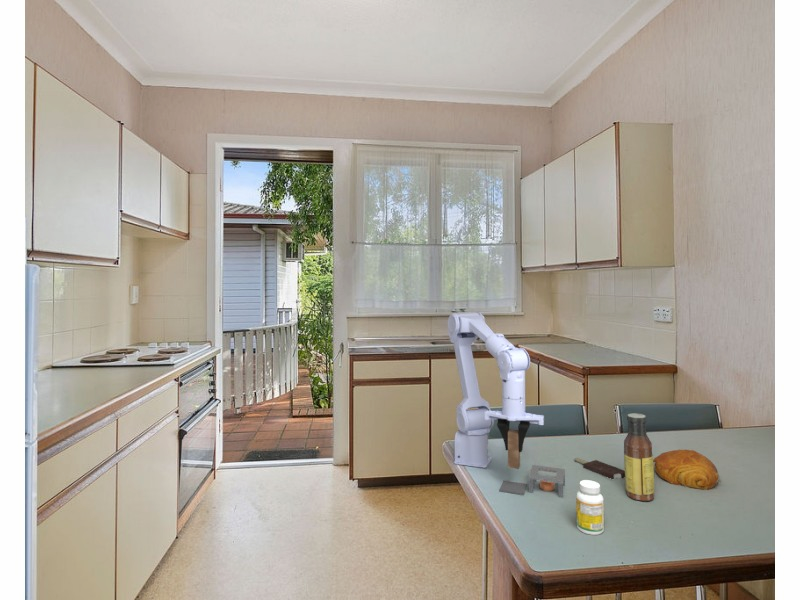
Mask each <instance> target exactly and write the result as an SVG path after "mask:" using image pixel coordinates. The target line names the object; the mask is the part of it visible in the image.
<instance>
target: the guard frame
mask: <svg viewBox="0 0 800 600" xmlns="http://www.w3.org/2000/svg"><path fill="white" fill-rule="evenodd" d="M565 470H566V469H565V468H557V467H550V466H544V465H536V464H532V466H531V469H530V471H529V475H528V492H529V493H530V494H534V491H535V488H534V487H535V485H534V483H536V482H537V481H539V482H540V481H547V482H554V484H558V498H563V499H564V487H565V486H566V485H565V484H566V483H565V482H566V481H565V480H566V479H565V477H566V475H565ZM539 471H541V472H547V473H548V472H549V473H556V475H555V476H547V475H539Z"/></svg>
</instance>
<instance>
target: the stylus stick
mask: <svg viewBox="0 0 800 600" xmlns="http://www.w3.org/2000/svg"><path fill="white" fill-rule="evenodd" d="M520 466H521V452H519V430H518V429H512V428H511V429H510V428H509V431H508V450H507V468H509V469H517V470H519V469H520Z"/></svg>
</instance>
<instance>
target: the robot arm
mask: <svg viewBox="0 0 800 600" xmlns="http://www.w3.org/2000/svg"><path fill="white" fill-rule="evenodd" d="M446 326H447V333H448V338H449V342H451V343H452V344H453V349H454V354H455V360H456V366H457V371H458V377H459V382H460V388H461V394H462V398H463V399H462V400H461V401H460V403H459V404H458V405H457V406H456V408H455V409H456V410H455V411H456V417H455V419H456V421H455V422H456V425H457V427H458V429H456V432H455V436H454V461H453V464H454V465H461V466H469V467H475V468H482V469H483V468H484V469H485V468H486V469H487V468H488V466H489V464H490V462H491V460H492V459H493V458H492V457H491V456H489V443H488V442H489V437H488V436H489V433H490V432H491V429H492V428H493V427H494V424H495V421H497V423H496V426H497V429H498V430H499V432H500V434H501V437H502V439H503V442H504V447H505V451H508V431H509V429H510V422H514V423H519V424H518V427H517V428H518V429H517V430H519V452H520V453H523V449H524V448H523V447H524V441H525V439H526V436H527V435H526V434H527V432H528V431H529V429H530V426H531V424H535V425H539V426H544V424H545V415H543V414H534V413H530V412H526V372H527V371H528V370H529V368H530V365H531V358H530V355H529V353H528V351H527V350H526V349H525V348H523V347H520V348H518V347H516V346H514V344H513V343H512V342H510V341H509V340H508V339H507V338H506V337H505V335H504V334H503V333H494V331H493V330H492V329H491V328H490V327H489V325H487V323H486V318H485V316H484V315H483V314H482V313H481V312H479V311H476V312H460V313H456V312H452V313H450V315H449V316H448V319H447V322H446ZM477 339H480V340H481V341H483V343H485V344H484V346H485V347H484V348H485V349H486V351H487V352H488V353H489V354H490V355H491V356H492V357H493V358H494V359H495V360H496V365H497V369H498V371H499V377H500V379H501V395H502V396H501V408H502V409H501V410H491V409H492V408H491V406H490V403H489V401H487V400H486V399H484V398H483V397H481V393H480V387H479V382H478V377H477V372H476V371H477V370H476V367H475V365H476V364H475V361H474V360H475V359H474V356H473V350H472V345H473V342H475V341H477ZM473 408H474V409H473Z"/></svg>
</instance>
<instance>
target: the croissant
mask: <svg viewBox="0 0 800 600" xmlns="http://www.w3.org/2000/svg"><path fill="white" fill-rule="evenodd" d="M653 463H654V471H655V473H657V475H658V476H659V477H660V478H661V479H663V480H665V481H666V482H668V483H669V484H670V485H671V484H673V485H675V486H681V485H682V486H684V487H685V488H686V487H688V488H692V489H699V490H710V489H712V488H714V486H715V485H716V484H717V483H718V482H719V477H720V476H719V474H718V468H717V467H716V465H715V464H714V463H713V461H711V460H710V459H709V458H708V457H707V456H705V455H703V454H701V453H699V452H697V451H696V450H693V449H677V450H670V451H666V452H662V453H661V454H659V455H658V456H655V458H654V457H653Z"/></svg>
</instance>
